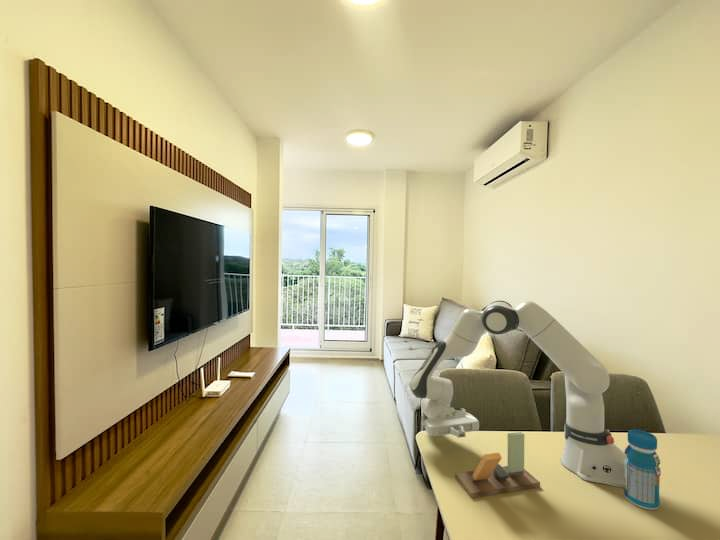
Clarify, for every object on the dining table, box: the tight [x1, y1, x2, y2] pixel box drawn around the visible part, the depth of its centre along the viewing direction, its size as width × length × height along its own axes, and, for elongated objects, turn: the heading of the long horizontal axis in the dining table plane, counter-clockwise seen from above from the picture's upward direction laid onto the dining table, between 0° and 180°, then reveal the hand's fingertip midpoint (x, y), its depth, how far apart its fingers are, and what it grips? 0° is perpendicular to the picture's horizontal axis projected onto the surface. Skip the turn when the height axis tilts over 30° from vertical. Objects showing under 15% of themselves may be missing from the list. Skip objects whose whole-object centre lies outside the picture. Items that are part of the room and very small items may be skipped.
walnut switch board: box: [454, 465, 541, 499], centre depth 110 cm, size 24×10×2 cm, turn 102°
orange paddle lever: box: [472, 452, 503, 481], centre depth 105 cm, size 5×2×13 cm
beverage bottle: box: [623, 429, 662, 511], centre depth 101 cm, size 8×8×20 cm
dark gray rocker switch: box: [493, 463, 509, 480], centre depth 110 cm, size 3×5×2 cm, turn 12°
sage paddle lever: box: [507, 431, 525, 476], centre depth 111 cm, size 5×2×13 cm, turn 102°
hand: (461, 435), depth 120 cm, fingers closed
